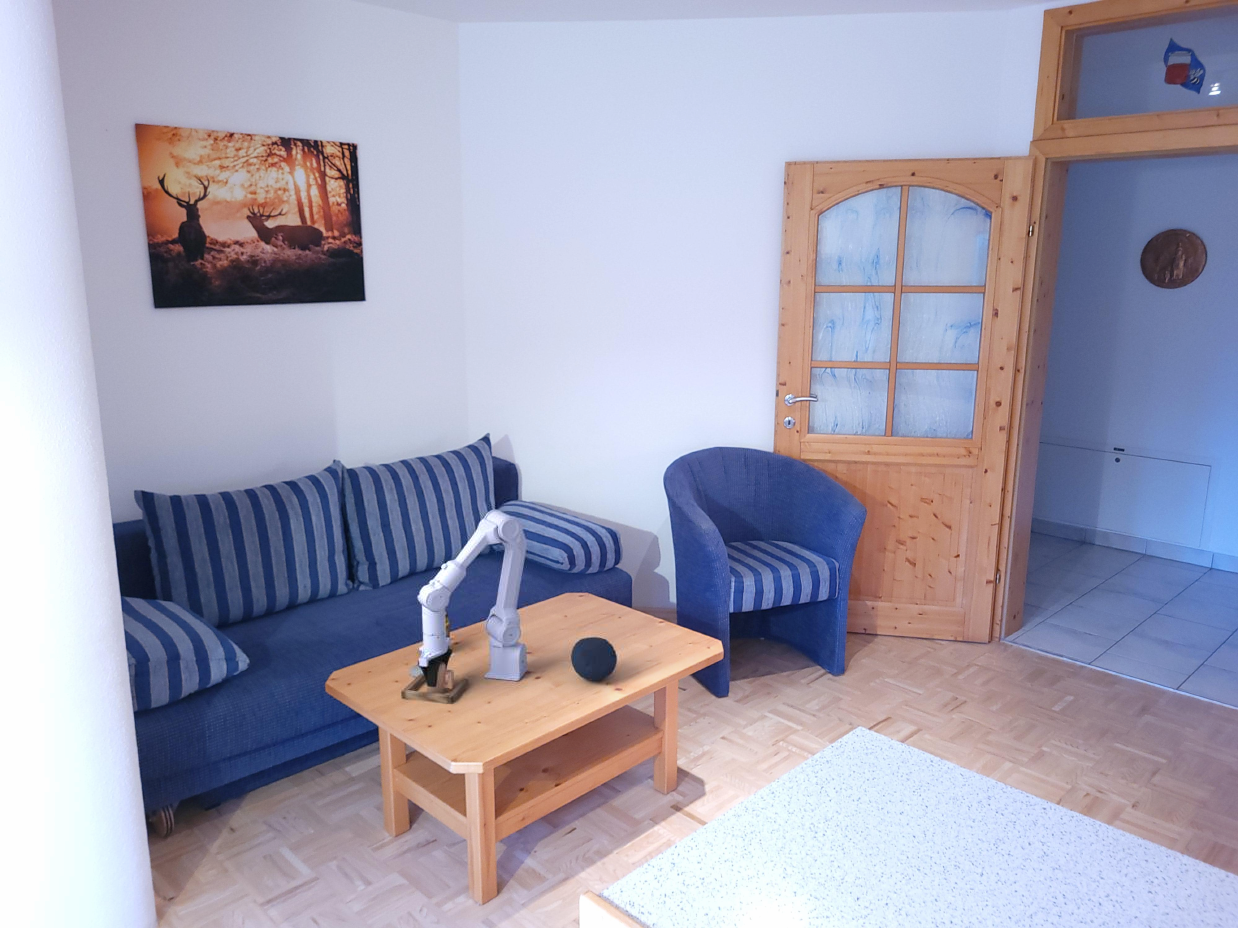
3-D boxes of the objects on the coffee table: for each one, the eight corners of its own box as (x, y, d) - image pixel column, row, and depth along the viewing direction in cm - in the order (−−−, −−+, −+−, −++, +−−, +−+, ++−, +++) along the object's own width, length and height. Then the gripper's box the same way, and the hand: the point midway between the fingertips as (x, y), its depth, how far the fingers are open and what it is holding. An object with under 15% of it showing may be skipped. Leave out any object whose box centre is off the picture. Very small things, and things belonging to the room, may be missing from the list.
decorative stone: (561, 679, 246) (561, 643, 244) (592, 665, 255) (592, 630, 253) (594, 691, 238) (594, 655, 236) (624, 677, 247) (625, 641, 245)
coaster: (444, 667, 253) (444, 665, 253) (432, 679, 245) (432, 677, 245) (417, 664, 255) (417, 662, 255) (404, 676, 247) (404, 674, 247)
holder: (468, 685, 242) (468, 678, 242) (451, 703, 231) (451, 697, 231) (420, 679, 245) (420, 673, 245) (401, 698, 234) (401, 691, 234)
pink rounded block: (456, 688, 240) (455, 662, 239) (449, 696, 235) (448, 670, 234) (431, 685, 242) (430, 660, 240) (423, 693, 237) (422, 667, 236)
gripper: (431, 620, 243) (433, 668, 246) (406, 640, 230) (409, 692, 232) (457, 622, 242) (458, 671, 245) (433, 643, 228) (435, 695, 231)
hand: (436, 681), depth 238 cm, fingers closed on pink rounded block, 5 cm apart
